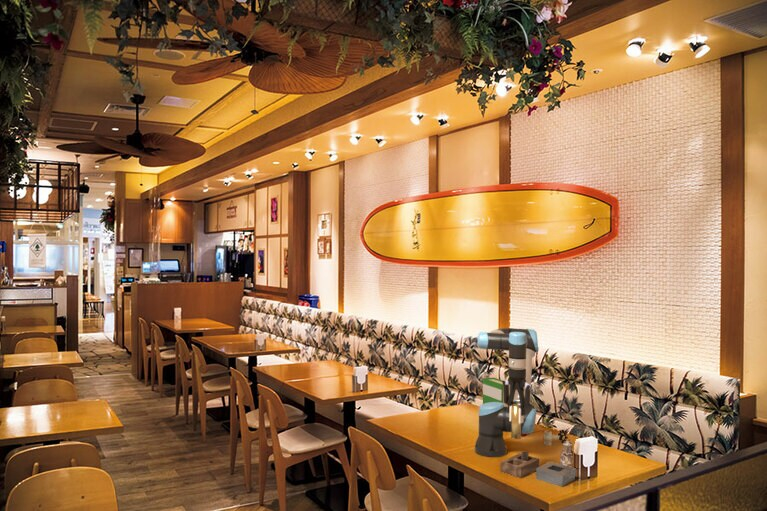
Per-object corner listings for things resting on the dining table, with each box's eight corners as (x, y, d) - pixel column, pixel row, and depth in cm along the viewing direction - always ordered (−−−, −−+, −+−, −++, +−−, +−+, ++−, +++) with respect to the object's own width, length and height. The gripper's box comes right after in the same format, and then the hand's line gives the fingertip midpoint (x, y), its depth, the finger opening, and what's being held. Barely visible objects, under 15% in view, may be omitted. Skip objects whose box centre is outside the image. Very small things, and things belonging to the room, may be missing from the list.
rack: (500, 472, 259) (500, 456, 259) (519, 463, 271) (519, 447, 271) (520, 478, 252) (521, 461, 252) (539, 468, 264) (539, 453, 264)
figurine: (557, 468, 265) (557, 441, 265) (561, 463, 271) (562, 437, 271) (573, 471, 262) (574, 444, 262) (577, 466, 268) (578, 440, 268)
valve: (548, 447, 295) (567, 444, 300) (548, 433, 295) (568, 431, 300) (540, 443, 301) (559, 440, 306) (540, 430, 301) (559, 427, 306)
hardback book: (511, 426, 329) (512, 383, 330) (500, 428, 326) (501, 384, 326) (492, 418, 345) (493, 377, 345) (482, 420, 342) (483, 378, 342)
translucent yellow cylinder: (509, 437, 258) (510, 405, 258) (514, 435, 261) (514, 403, 261) (517, 439, 256) (518, 407, 256) (522, 437, 259) (523, 405, 259)
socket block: (536, 478, 252) (536, 468, 252) (549, 471, 260) (549, 461, 260) (562, 486, 243) (562, 475, 244) (575, 479, 252) (575, 468, 252)
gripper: (495, 366, 262) (494, 419, 262) (530, 371, 250) (529, 427, 250) (504, 364, 267) (504, 416, 267) (539, 369, 256) (538, 424, 256)
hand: (516, 421), depth 259 cm, fingers closed on translucent yellow cylinder, 4 cm apart
